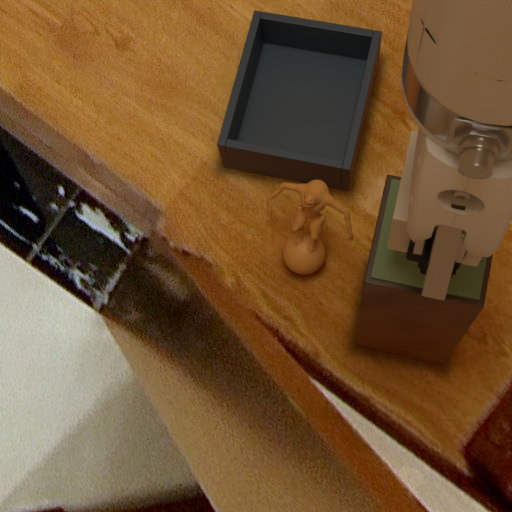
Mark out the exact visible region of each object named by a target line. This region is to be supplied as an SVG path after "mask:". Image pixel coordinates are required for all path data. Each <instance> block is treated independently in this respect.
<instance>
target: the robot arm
mask: <svg viewBox="0 0 512 512" xmlns="http://www.w3.org/2000/svg"><path fill="white" fill-rule="evenodd" d="M400 72H401V73H400V88H401V89H400V91H401V94H402V99H403V102H404V106H405V108H406V110H407V112H408V114H409V116H410V117H411V119H412V121H413V123H414V124H415V125H416V126H417V128H418V130H417V131H418V136H417V141H416V148H415V155H414V163H413V170H412V179H411V188H410V197H409V207H408V218H407V229H406V231H407V234H408V235H409V237H410V238H411V239H410V243H409V246H408V250H407V255H406V259H407V260H410V261H414V262H418V267H419V268H420V274H425V275H424V279H423V286H422V293H421V296H424V297H428V298H433V299H438V300H443V301H444V300H445V297H446V293H447V290H448V286H449V282H450V279H451V277H452V276H453V275H456V270H457V269H459V267H460V265H461V263H462V261H463V259H464V257H465V255H466V253H467V252H468V253H469V254H470V255H473V256H480V257H489V256H491V255H493V256H494V254H495V253H496V252H498V250H499V248H500V246H501V244H502V242H503V239H504V237H505V235H506V233H507V230H508V228H509V226H510V224H511V221H512V0H412V2H411V8H410V14H409V21H408V27H407V32H406V39H405V45H404V52H403V59H402V67H401V71H400ZM433 231H434V232H433Z"/></svg>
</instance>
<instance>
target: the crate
mask: <svg viewBox="0 0 512 512" xmlns="http://www.w3.org/2000/svg"><path fill="white" fill-rule="evenodd" d="M382 37H383V31H381V30H377V29H370V28H364V27H358V26H352V25H347V24H346V25H345V24H340V23H334V22H328V21H322V20H317V19H310V18H303V17H298V16H291V15H286V14H279V13H273V12H267V11H261V10H256V9H254V10H253V14H252V16H251V20H250V24H249V27H248V30H247V35H246V39H245V42H244V45H243V50H242V52H241V56H240V59H239V64H238V68H237V70H236V73H235V74H236V75H235V78H234V82H233V86H232V89H231V93H230V96H229V99H228V104H227V106H226V109H225V110H226V111H225V115H224V118H223V121H222V125H221V129H220V132H219V136H218V140H217V143H216V146H217V150H218V153H219V155H220V159H221V163H222V166H223V167H224V168H229V169H233V170H239V171H243V172H249V173H254V174H259V175H263V176H270V177H274V178H279V179H284V180H289V181H296V182H300V183H304V184H307V183H309V182H310V181H312V180H322V181H323V182H325V183H326V185H327V186H328V188H331V189H335V190H342V191H346V192H349V191H350V190H351V185H352V180H353V176H354V172H355V169H356V164H357V159H358V154H359V150H360V146H361V143H362V142H361V141H362V138H363V133H364V128H365V124H366V120H367V115H368V112H369V111H368V110H369V108H370V107H369V106H370V102H371V98H372V93H373V89H374V84H375V81H376V76H377V71H378V67H379V63H380V56H381V46H382Z"/></svg>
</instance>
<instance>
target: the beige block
mask: <svg viewBox="0 0 512 512" xmlns="http://www.w3.org/2000/svg"><path fill="white" fill-rule="evenodd" d="M417 136H418V130H410V133H409V139H408V142H407V143H408V144H407V147H406V153H405V156H404V157H405V158H404V162H403V167H402V172H401V176H400V177H401V181H400V185H399V190H398V195H397V200H396V204H395V209H394V214H393V219H392V224H391V229H390V234H389V239H388V244H387V248H388V249H392V250H397V251H402V252H406V253H407V250H408V246H409V243H410V239H411V238H410V237H409V235H408V234H407V231H406V229H407V218H408V207H409V197H410V188H411V179H412V170H413V163H414V155H415V148H416V141H417ZM433 232H434V231H433ZM481 258H482V257H480V256H473V255H470V254H469V253H468V252H467V253H466V255H465V257H464V259H463V261H462V263H461V264H465V265H470V266H475V267H476V266H477V265H478V264H479V262H480V260H481Z"/></svg>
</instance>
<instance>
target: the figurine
mask: <svg viewBox="0 0 512 512" xmlns="http://www.w3.org/2000/svg"><path fill="white" fill-rule="evenodd" d="M285 189H286V190H289V191H293V192H297V193H299V198H300V204H299V205H297V206H296V214H295V217H294V219H293V224H292V226H291V230H292V232H294V233H293V234H291V235H290V236H289V237H288V238H287V239H286V240H285V242H284V244H283V247H282V259H283V262H284V264H285V265H286V267H287V268H288V269H289V270H290V271H291V272H293V273H295V274H298V275H304V276H305V275H311V274H314V273H316V272H317V271H318V270H319V269H320V268H321V267H322V266H323V264H324V263H325V259H326V252H327V251H326V246H325V244H324V241H323V240H322V239H321V238H320V237H321V233H322V232H323V227H324V224H325V223H326V220H327V216H326V214H323V213H321V212H322V211H323V210H324V209H325V207H326V206H327V207H330V208H333V210H335V211H337V212H339V213H340V214H342V215H343V219H344V222H345V228H346V231H347V234H348V235H347V236H346V237H345V239H344V241H346V245H348V244H351V243H352V242H353V241H354V233H353V226H352V220H351V213H350V211H349V209H348V208H346V207H345V206H344V205H343V204H342V203H340V202H339V201H337V200H336V199H335V197H333V196H332V195H331V193H330V190H329V187H328V186H327V185H326V183H325V182H323V181H322V180H312V181H310V182H309V183H294V182H286V181H285V182H282V183H280V184H279V185H278V187H277V188H276V189H275V190H274V191H272V193H271V194H270V195H269V196H268V197H267V199H266V207H267V209H269V207H271V205H272V200H273V199H275V198H277V197H278V196H279V195H280V194H281V193H282V192H283V191H284V190H285ZM307 219H308V220H312V221H311V223H310V224H309V231H305V225H306V223H307Z"/></svg>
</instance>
